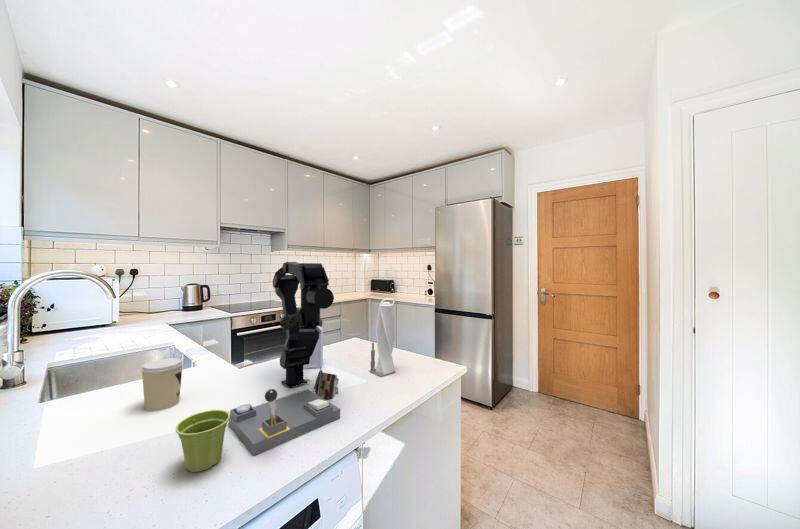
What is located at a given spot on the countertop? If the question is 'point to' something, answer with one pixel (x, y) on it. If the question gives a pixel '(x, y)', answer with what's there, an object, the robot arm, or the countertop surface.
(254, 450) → the switch panel
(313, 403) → the rocker switch
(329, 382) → the chocolate cake
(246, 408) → the push button
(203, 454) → the plant pot
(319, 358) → the soap bottle
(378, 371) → the skyscraper
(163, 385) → the coffee cup
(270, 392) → the toggle lever
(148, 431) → the countertop surface
